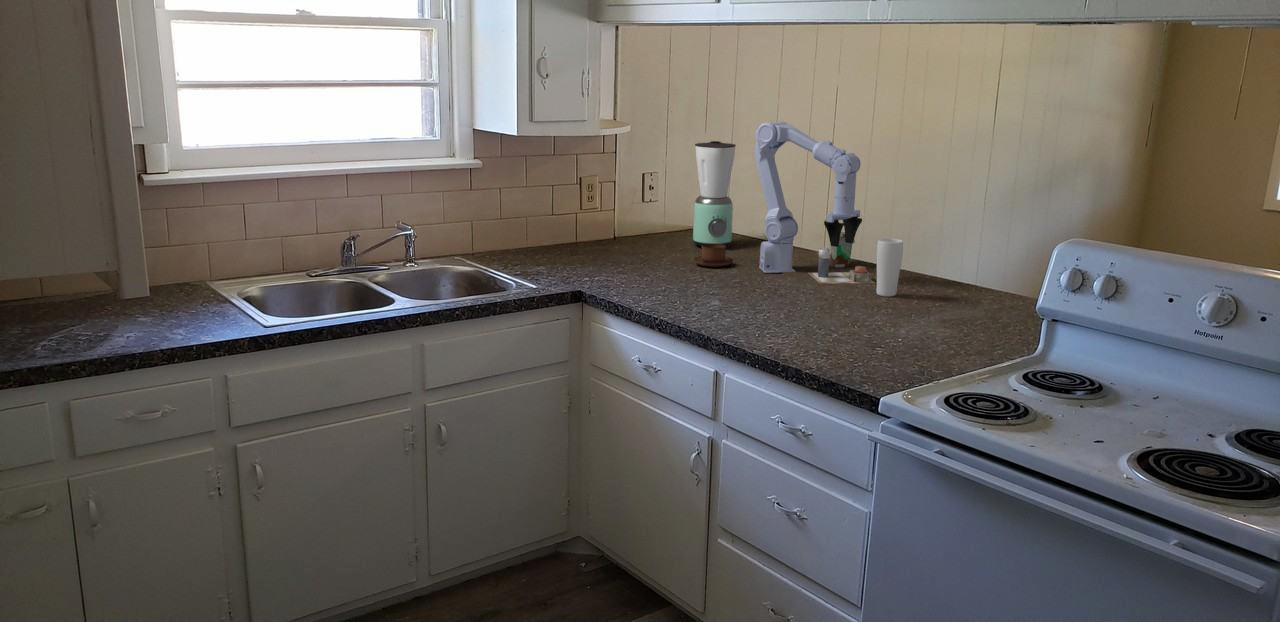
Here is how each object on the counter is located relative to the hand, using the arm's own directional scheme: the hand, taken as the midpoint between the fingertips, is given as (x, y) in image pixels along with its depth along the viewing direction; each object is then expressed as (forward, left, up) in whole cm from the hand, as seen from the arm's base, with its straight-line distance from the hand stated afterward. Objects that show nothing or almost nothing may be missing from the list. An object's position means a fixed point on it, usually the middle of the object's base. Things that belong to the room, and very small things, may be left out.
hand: (841, 244), depth 281 cm
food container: (+7, +19, -11) cm, 23 cm away
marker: (-4, +2, -10) cm, 11 cm away
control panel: (+1, +1, -11) cm, 11 cm away
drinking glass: (+8, -18, -11) cm, 22 cm away
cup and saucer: (-33, +23, -11) cm, 42 cm away
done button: (+5, -2, -8) cm, 10 cm away
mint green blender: (-28, +54, -11) cm, 62 cm away
